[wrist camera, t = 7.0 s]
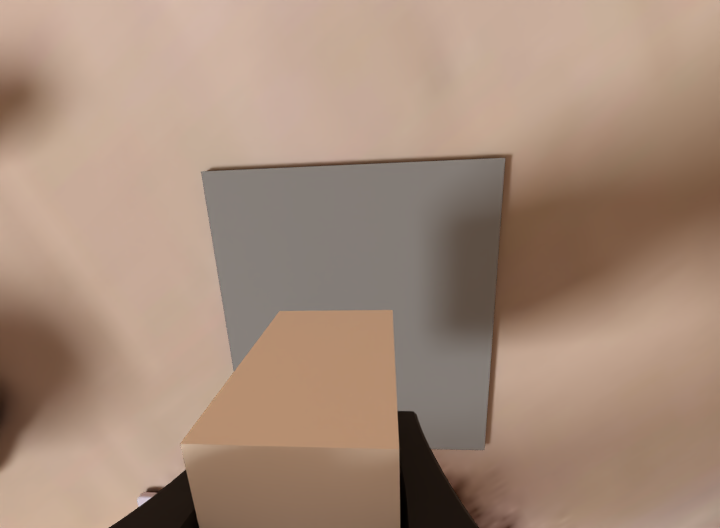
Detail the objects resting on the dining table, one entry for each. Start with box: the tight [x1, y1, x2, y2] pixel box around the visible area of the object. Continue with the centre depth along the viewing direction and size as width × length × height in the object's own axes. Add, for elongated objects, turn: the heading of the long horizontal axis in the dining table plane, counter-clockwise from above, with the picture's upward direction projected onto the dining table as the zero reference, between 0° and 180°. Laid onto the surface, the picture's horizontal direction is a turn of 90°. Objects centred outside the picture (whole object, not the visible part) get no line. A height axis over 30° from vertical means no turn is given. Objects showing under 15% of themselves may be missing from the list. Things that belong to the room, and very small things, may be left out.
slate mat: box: [201, 158, 505, 450], centre depth 19 cm, size 17×15×1 cm
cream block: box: [180, 310, 400, 528], centre depth 10 cm, size 4×7×6 cm, turn 3°
